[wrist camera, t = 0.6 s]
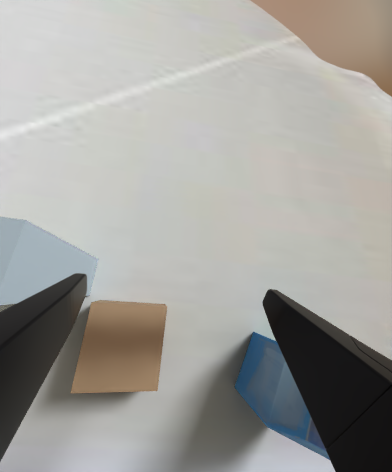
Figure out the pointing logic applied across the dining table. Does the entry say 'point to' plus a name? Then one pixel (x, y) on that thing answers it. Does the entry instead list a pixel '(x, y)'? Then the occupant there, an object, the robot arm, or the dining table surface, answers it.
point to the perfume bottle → (276, 394)
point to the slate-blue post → (36, 260)
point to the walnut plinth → (121, 348)
